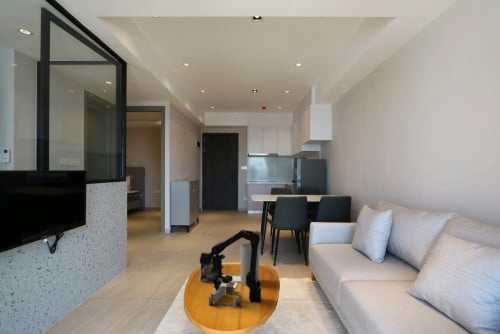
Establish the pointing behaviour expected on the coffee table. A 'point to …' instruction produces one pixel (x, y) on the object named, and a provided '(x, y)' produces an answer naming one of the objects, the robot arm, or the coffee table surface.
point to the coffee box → (204, 270)
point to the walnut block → (229, 288)
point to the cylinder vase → (247, 261)
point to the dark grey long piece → (237, 303)
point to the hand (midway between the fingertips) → (217, 291)
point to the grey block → (218, 293)
